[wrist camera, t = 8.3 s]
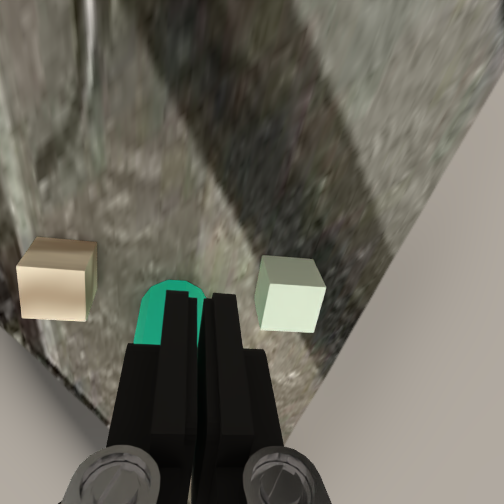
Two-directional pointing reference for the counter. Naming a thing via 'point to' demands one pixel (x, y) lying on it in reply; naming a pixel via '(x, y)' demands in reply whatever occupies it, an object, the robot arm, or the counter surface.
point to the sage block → (288, 294)
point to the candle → (162, 310)
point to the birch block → (58, 279)
